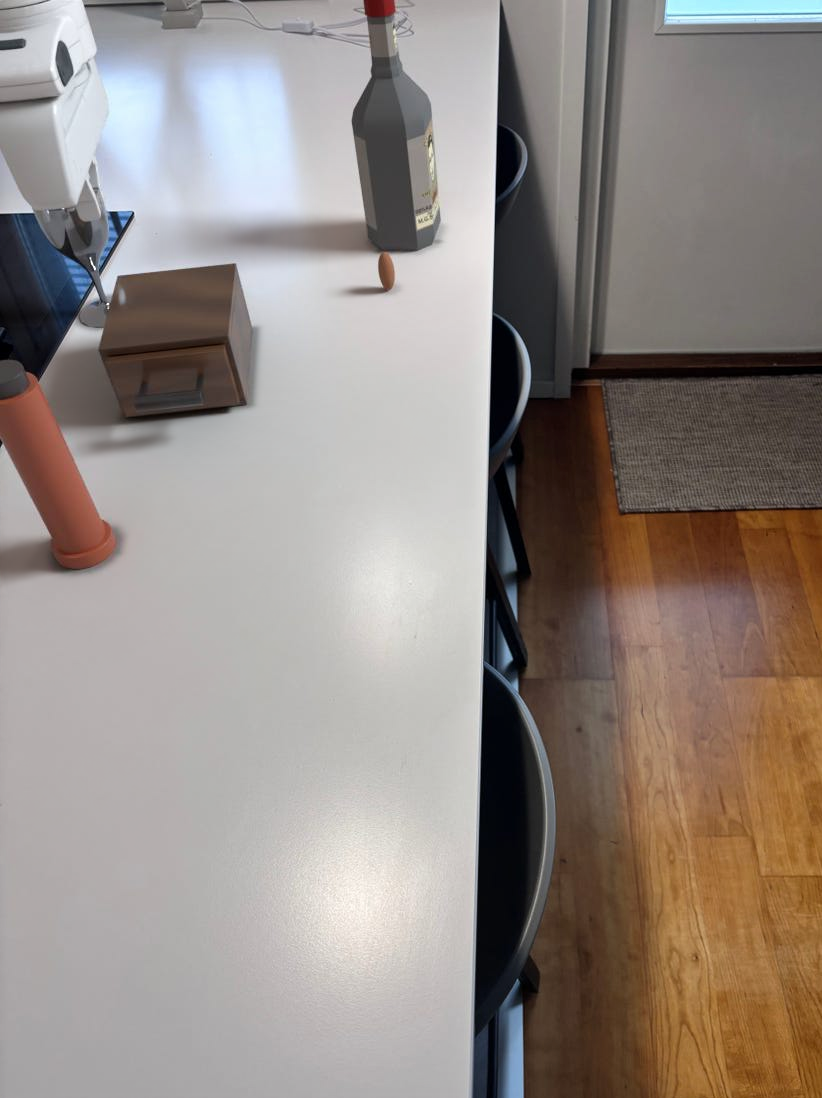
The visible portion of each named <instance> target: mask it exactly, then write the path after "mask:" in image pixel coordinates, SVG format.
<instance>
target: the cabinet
mask: <svg viewBox="0 0 822 1098" xmlns="http://www.w3.org/2000/svg"><path fill="white" fill-rule="evenodd" d="M243 289H244V288H243V285H242V282H241V277H240V274H239V270H238V265H237V263H236V262H235V263H224V264H214V265H206V266H197V267H185V268H177V269H176V268H175V269H169V270H158V271H149V272H140V273H139V272H138V273H130V274H120V275H117V277H116V280H115V284H114V288H113V292H112V294H111V297H112V299H111V303H110V307H109V310H108V314H107V318H106V322H105V325H104V327H103V330H102V334H101V336H100V341H99V345H98V348H97V351H98V355H99V356H100V359H101V361H102V364H103V366H104V369H105V371H106V374H107V376H108V380H109V383H110V384H111V387H112V389H113V392H114V394H115V396H116V399H117V402H118V404H119V407H120V411H121V412H122V415H123V417H124V419H129V418H137V417H139V418H140V417H146V416H148V417H149V416H155V415H156V416H157V415H164V414H174V413H183V412H192V411H193V412H194V411H200V410H210V409H219V408H228V407H236V406H247V405H248V397H249V385H250V374H251V373H250V372H251V358H252V344H253V332H254V329H253V325H252V321H251V316H250V313H249V309H248V305H247V302H246V298H245V292H244V290H243ZM212 344H222V345H225V348H226V351H227V355H228V358H229V362H230V365H231V369H232V372H233V376H234V380H235V383H236V387H237V390H238V394H239V397H240V401H239V404H238V405H229V406H220V407H211V408H202V409H193V410H184V411H175V412H166V413H157V414H148V415H139V416H130V417H126V415H125V413H124V410H123V408H122V405H121V402H120V400H119V397H118V395H117V392H116V390H115V387H114V385H113V382H112V379H111V377H110V374H109V372H108V369H107V367H106V364H105V362H106V358H107V357H114V356H118V355H121V354H130V353H139V352H148V351H158V350H167V349H176V348H185V347H194V346H203V345H212Z"/></svg>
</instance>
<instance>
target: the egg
mask: <svg viewBox="0 0 822 1098" xmlns="http://www.w3.org/2000/svg"><path fill="white" fill-rule="evenodd" d="M377 262H378V263H377V270H378V277H379V281H380V283H381V285H382V287H383V288H384V289H385V290H386V291H391V290H392V289H393V288H394V284H395V280H396V271H395V266H394V262H393V259H392V258H391V256H390V254H389V253H388V252H386V251H383V252H381V253H380V254H379V257H378V261H377Z"/></svg>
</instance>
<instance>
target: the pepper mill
mask: <svg viewBox="0 0 822 1098" xmlns="http://www.w3.org/2000/svg"><path fill="white" fill-rule="evenodd" d="M0 441H1V443H2V445H3V447H4V448H5V451H6V453H7V454H8V456H9V458H10V460H11V461H12V464H13V466H14V468H15V469H16V472H17V473H18V475H19V477H20V480H21V481H22V484H23V485H24V487H25V489H26V491H27V494H28V495H29V497H30V498H31V500H32V502H33V504H34V506H35V508H36V510H37V512H38V514H39V516H40V518H41V520H42V521H43V524H44V526H45V528H46V530H47V531H48V534H49V536H50V538H51V539H50V549H51V551H52V553H53V556H54V557H55V560H57V562H58V563H59V564H60V565H61V566H63V567H64V568H67V569H70V570H71V569H72V570H81V569H87V568H92V567H94V566H97V565H98V564H101V563H102V562H104V561H105V560H107V559H108V558H109V557H110V556H111V555H112V554H113V553H114V551H115V549H116V546H117V538H116V536H115V534H114V531H113V529H112V527H111V524H110V523H108V522H107V520H105V519H102V518H101V516H100V513H99V512H98V508H97V506H96V504H95V502H94V500H93V499H92V496H91V494H90V492H89V489H88V487H87V485H86V483H85V481H84V479H83V476H82V474H81V472H80V470H79V468H78V465H77V463H76V461H75V459H74V456H73V455H72V452H71V450H70V448H69V446H68V444H67V441H66V439H65V437H64V435H63V433H62V431H61V429H60V426H59V424H58V422H57V420H56V417H55V415H54V413H53V410H52V409H51V407H50V404H49V402H48V399H47V398H46V396H45V393H44V391H43V389H42V386H41V384H40V382H39V379H38V378H37V377H36V376H35V375H34V374H33V373H31V372H28V371H26V370H25V368H24V365H23V364H22V363H21V362H20V361H18V360H15V359H1V360H0Z"/></svg>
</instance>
